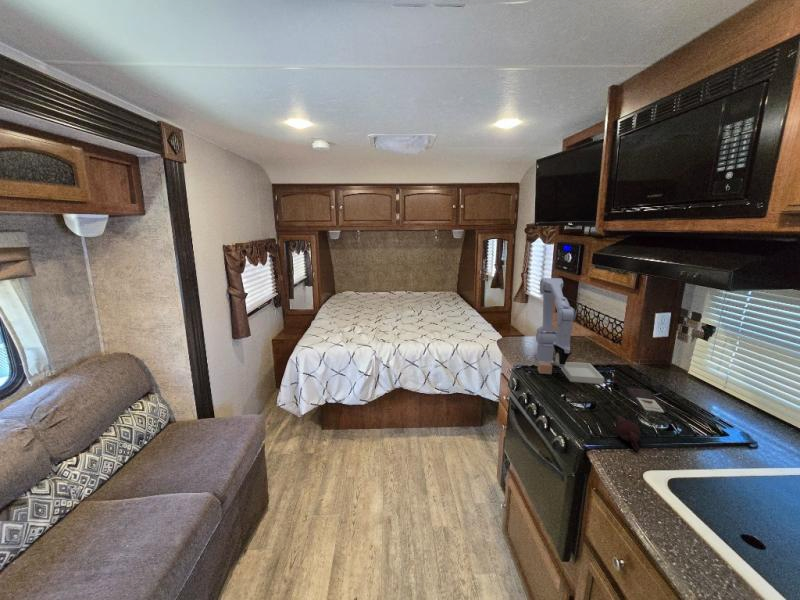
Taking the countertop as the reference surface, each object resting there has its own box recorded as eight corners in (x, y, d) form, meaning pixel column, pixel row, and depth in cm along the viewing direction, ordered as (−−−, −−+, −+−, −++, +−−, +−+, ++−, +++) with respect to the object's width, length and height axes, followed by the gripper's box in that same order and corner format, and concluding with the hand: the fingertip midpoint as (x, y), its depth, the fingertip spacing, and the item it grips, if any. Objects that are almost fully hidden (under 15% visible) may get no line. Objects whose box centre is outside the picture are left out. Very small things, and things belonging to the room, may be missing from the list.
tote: (559, 367, 164) (560, 361, 163) (589, 368, 162) (589, 363, 161) (570, 381, 149) (571, 375, 148) (603, 384, 146) (604, 378, 146)
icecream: (606, 408, 116) (622, 437, 102) (630, 406, 114) (649, 435, 100) (608, 424, 118) (624, 455, 104) (632, 423, 115) (651, 454, 102)
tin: (553, 362, 153) (554, 351, 152) (563, 363, 152) (564, 352, 151) (556, 366, 149) (557, 355, 147) (566, 367, 148) (568, 355, 147)
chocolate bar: (649, 390, 140) (668, 412, 124) (649, 391, 140) (667, 414, 124) (625, 386, 143) (640, 408, 126) (625, 388, 143) (640, 410, 126)
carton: (537, 370, 161) (538, 361, 160) (549, 370, 160) (550, 362, 159) (539, 373, 157) (540, 365, 156) (551, 374, 156) (552, 365, 155)
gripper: (549, 328, 155) (547, 355, 158) (559, 339, 141) (555, 367, 144) (565, 329, 153) (562, 356, 157) (576, 340, 139) (572, 369, 143)
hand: (560, 361), depth 150 cm, fingers closed on tin, 4 cm apart
